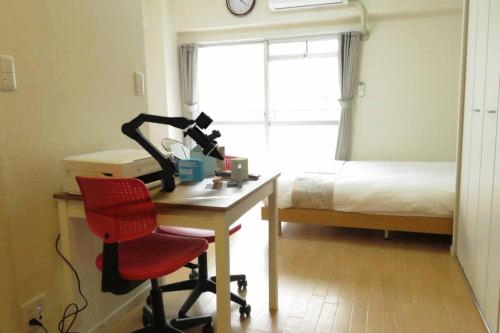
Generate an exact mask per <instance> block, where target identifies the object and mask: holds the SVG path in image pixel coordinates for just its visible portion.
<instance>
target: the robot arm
mask: <svg viewBox="0 0 500 333" xmlns="http://www.w3.org/2000/svg"><path fill="white" fill-rule="evenodd" d="M145 123H153V124H158V125H166V126H167V125H168V126H171V127H173V128H175V129H179V130H186V131H183V132H182V133H183V138H186V137H187V136H188V137H189V138H190V139H191V140H192V141H194V143H195V144H196V145H199V146H200V147H201V148H202V150H203V154H204V155H205V156H206V155H207V154H208V153H209V154H208V156H211V157H213V158H216V159H219V160H222V161H223V160H224V158H223V157H222V155H221V154H220V153H219V152H218V150H217V146H219V144H218V143H219V142H218V141H217V140H216V139H219V138H220V137H222V134H221V132H220V130H219V129H212V130H211V133H210V134H207V133H205V132H203V130H207V129H208V128H209V127H210V125H212V124H213V123H214V119H213V118H212V117H211V116H209V115H208V114H207V113H205V112H204V111H201V112H200V113H199V115H198V116H196V118H195V119H190V118H188V117H187V116H164V115H159V114H152V113H151V114H150V113H147V112H141V113H139V114H138V115H137V116H136V117H134V118H132V119H131V120H129V121H128V122H125V123H124V122H123V123H122V125H121V127H120V130H121V131H120V132H121V133H122V134H123V135H125V136H126V137H128V138H129V139H131V140H133V141H135V142H136V143H137V144H139V146H141V148H142V149H144V150H145V151H146V152H147V153H148V155H150V156H151V157H152V158H153V159H154V160H156V162H157V163H158V165H159V166H160V168H161V170H162V171H161V173H160V174H158V175H159V177H160V183H161V184H160V185H161V188H159V189H158V190H159V191H162V192H167V193H168V192H172V191H174V190H176V180H175V176H174V175H175V173H176V172H178V171H179V167H178V163H177V162H178V161H177V160H175V159H174V158H173V157H172V155H169V156H166V155H165V154H164V153H163V152H162V151H161V150H159V149H158V148H157V147H156V146H155V145H154V144H153V143H152V142H151V141H150V140H148V138H147V137H146V136H144V134H143V133H142V130H141V129H140V127H141V126H142V125H143V124H145ZM191 126H192V127H191Z"/></svg>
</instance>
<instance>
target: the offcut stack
mask: <svg viewBox="0 0 500 333" xmlns="http://www.w3.org/2000/svg"><path fill="white" fill-rule="evenodd" d="M223 183H224V181H223V176H215V177H214V178H213V179H212V184H213V188H222V185H223ZM222 189H223V188H222Z"/></svg>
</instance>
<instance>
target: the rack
mask: <svg viewBox="0 0 500 333" xmlns="http://www.w3.org/2000/svg"><path fill="white" fill-rule="evenodd" d="M213 184H214V183H207V184H206V186H205V187H204V190H215V189H221V190H222V189H239V188H240V189H242V188H244V187H243V186H244V182H243V181H242V164H238V181H234V180H228V181H227V182H223V185H222V188H213Z"/></svg>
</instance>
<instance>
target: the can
mask: <svg viewBox="0 0 500 333" xmlns="http://www.w3.org/2000/svg"><path fill="white" fill-rule="evenodd" d="M229 162H230V179H231V180H230V181H238V164H242V182H243V181H248V180H249V158H248V157H232V158H230V160H229Z"/></svg>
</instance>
